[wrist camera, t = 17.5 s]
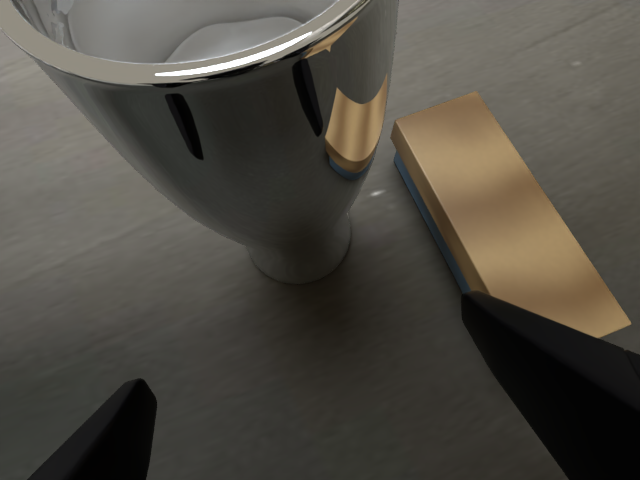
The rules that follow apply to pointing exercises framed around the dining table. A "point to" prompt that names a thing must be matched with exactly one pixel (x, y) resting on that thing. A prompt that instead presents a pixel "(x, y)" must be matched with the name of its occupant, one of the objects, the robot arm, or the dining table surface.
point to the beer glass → (231, 107)
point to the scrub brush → (498, 217)
